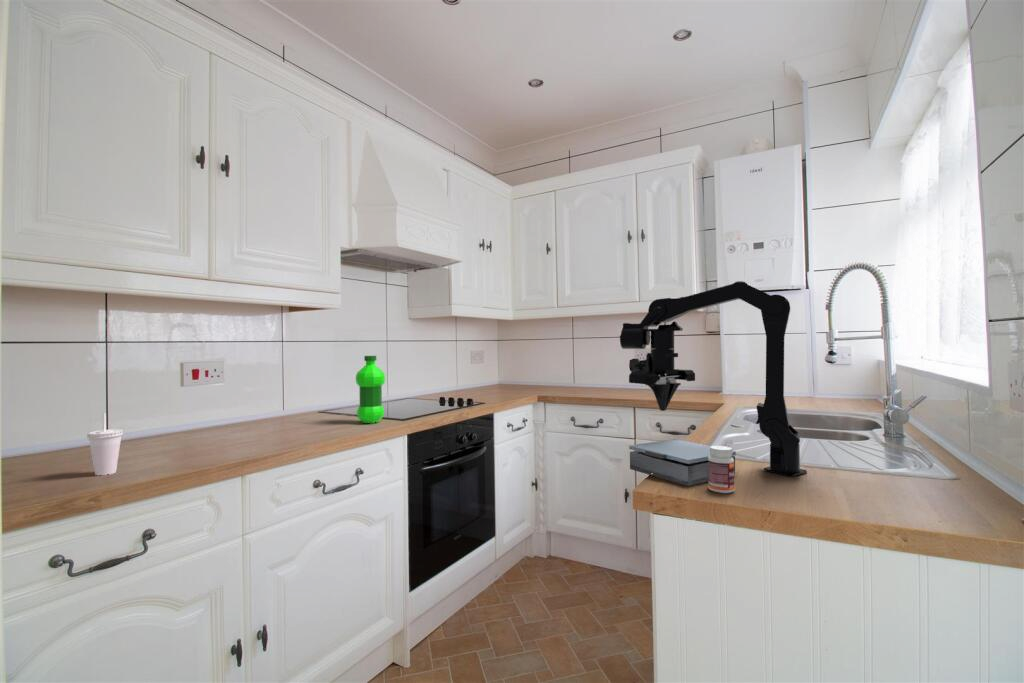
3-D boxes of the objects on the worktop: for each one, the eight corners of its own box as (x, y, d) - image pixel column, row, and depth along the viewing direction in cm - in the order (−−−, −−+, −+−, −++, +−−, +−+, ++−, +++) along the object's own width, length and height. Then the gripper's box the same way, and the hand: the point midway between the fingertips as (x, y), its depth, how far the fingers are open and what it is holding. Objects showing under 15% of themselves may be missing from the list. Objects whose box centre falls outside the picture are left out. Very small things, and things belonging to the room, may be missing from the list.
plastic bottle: (372, 425, 171) (371, 356, 171) (350, 423, 176) (349, 356, 176) (390, 421, 180) (390, 355, 180) (369, 419, 185) (368, 355, 185)
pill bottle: (735, 494, 92) (734, 451, 92) (708, 492, 93) (708, 449, 93) (733, 487, 96) (733, 446, 96) (708, 485, 98) (707, 444, 98)
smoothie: (80, 478, 106) (80, 415, 106) (96, 470, 112) (96, 411, 112) (115, 475, 108) (114, 414, 108) (128, 468, 114) (128, 410, 114)
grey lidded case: (675, 459, 119) (675, 443, 119) (735, 474, 105) (735, 456, 105) (629, 469, 110) (629, 451, 111) (688, 486, 97) (688, 466, 97)
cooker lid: (674, 442, 119) (674, 439, 119) (735, 455, 105) (735, 451, 105) (626, 449, 110) (626, 446, 110) (685, 464, 96) (685, 460, 96)
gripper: (661, 348, 133) (662, 404, 133) (612, 349, 123) (613, 409, 123) (696, 348, 123) (696, 409, 123) (646, 349, 113) (646, 415, 113)
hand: (662, 410), depth 121 cm, fingers closed
